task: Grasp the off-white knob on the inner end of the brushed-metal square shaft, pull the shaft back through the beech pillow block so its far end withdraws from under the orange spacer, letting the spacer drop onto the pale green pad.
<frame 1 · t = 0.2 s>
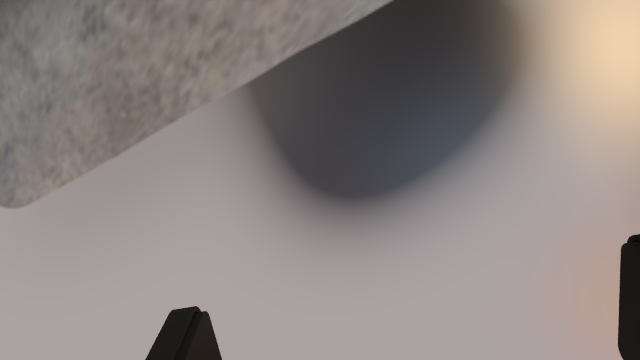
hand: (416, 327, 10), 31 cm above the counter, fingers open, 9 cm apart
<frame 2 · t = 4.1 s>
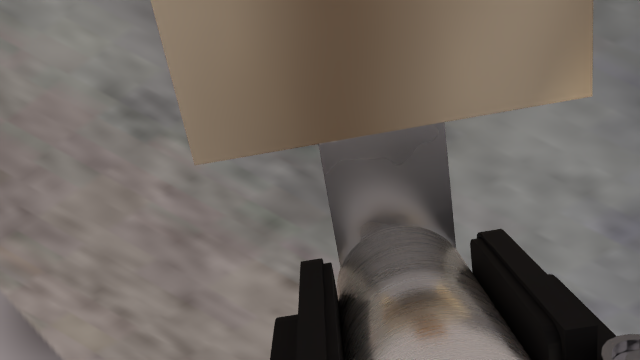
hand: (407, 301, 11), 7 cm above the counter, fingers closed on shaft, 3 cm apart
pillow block: (343, 17, 16), on the counter
shaft: (375, 18, 8), point 8 cm above the counter, slide at 0.0 cm, touching gripper, spacer
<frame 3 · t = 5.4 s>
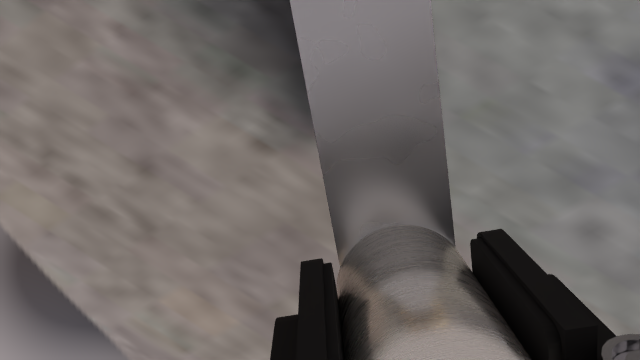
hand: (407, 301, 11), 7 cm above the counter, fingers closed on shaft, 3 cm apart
shaft: (372, 18, 8), point 8 cm above the counter, slide at 6.2 cm, touching gripper
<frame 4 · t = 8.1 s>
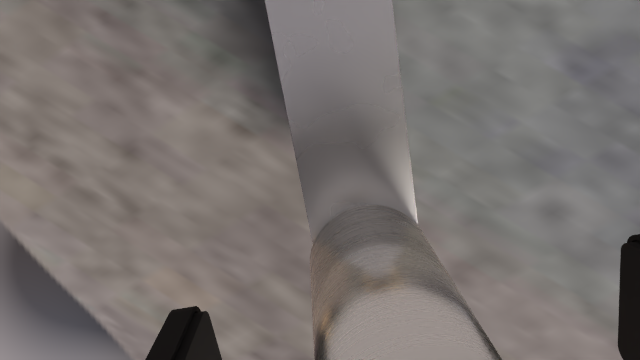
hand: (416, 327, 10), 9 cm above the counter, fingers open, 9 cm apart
shaft: (336, 14, 9), point 8 cm above the counter, slide at 6.5 cm
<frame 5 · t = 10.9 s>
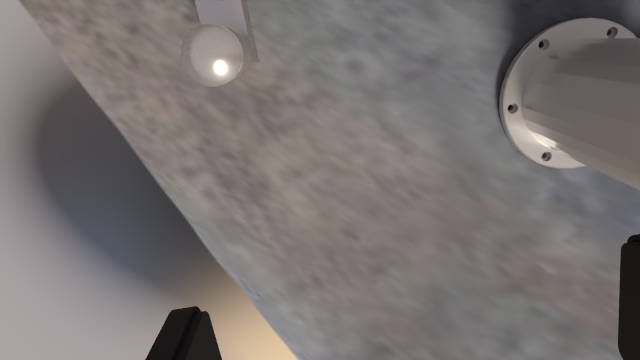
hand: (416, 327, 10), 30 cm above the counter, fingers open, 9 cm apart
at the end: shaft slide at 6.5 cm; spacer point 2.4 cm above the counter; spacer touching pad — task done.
